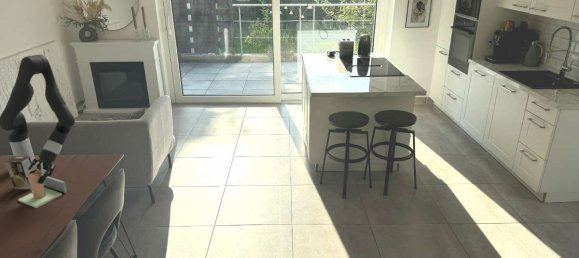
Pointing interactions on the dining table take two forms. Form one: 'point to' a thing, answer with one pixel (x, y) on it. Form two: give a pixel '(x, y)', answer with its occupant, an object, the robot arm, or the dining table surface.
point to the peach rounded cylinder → (36, 185)
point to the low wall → (55, 184)
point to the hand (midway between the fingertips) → (34, 181)
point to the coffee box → (19, 171)
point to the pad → (37, 203)
